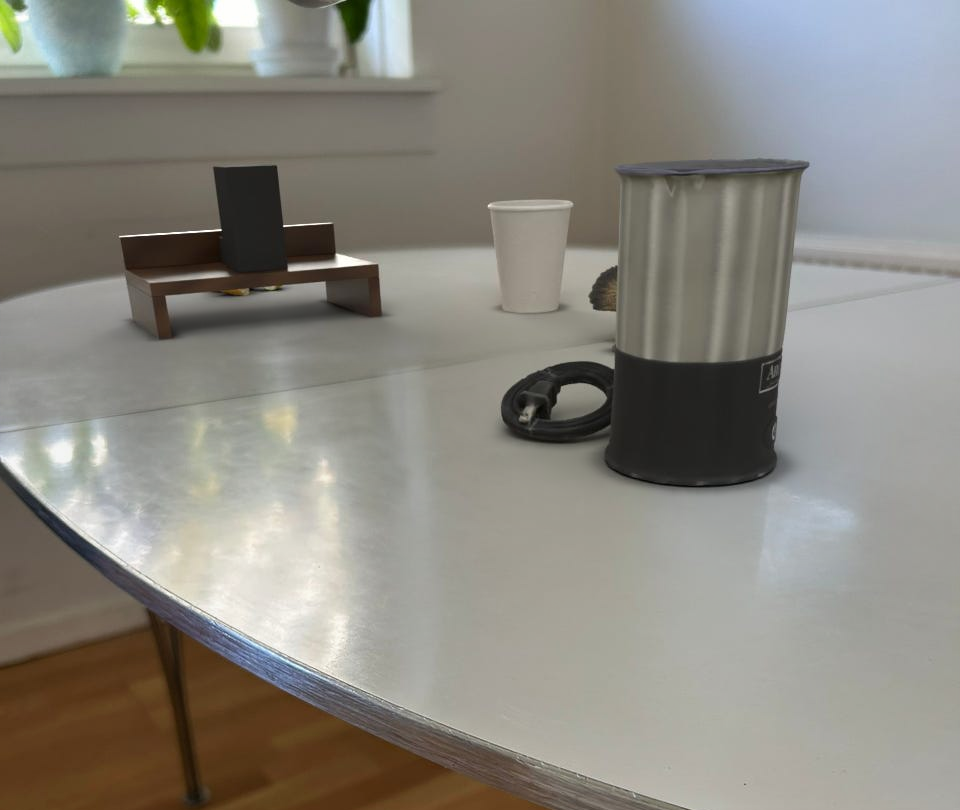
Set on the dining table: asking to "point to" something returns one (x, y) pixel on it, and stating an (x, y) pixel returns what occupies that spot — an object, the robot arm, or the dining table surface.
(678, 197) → the milk frother
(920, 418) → the dining table surface
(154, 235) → the wooden bench
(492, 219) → the dixie cup
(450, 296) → the dining table surface
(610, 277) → the eagle figurine
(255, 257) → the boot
